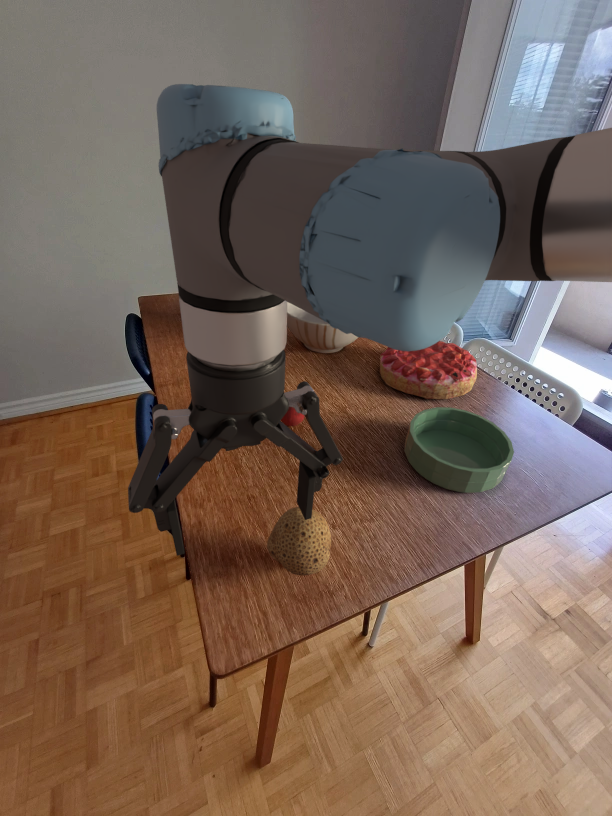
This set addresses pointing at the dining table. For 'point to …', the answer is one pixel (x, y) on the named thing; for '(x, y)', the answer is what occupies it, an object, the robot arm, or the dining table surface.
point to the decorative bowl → (316, 331)
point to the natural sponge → (300, 542)
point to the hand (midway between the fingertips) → (244, 526)
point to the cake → (430, 371)
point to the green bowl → (458, 449)
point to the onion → (292, 417)
